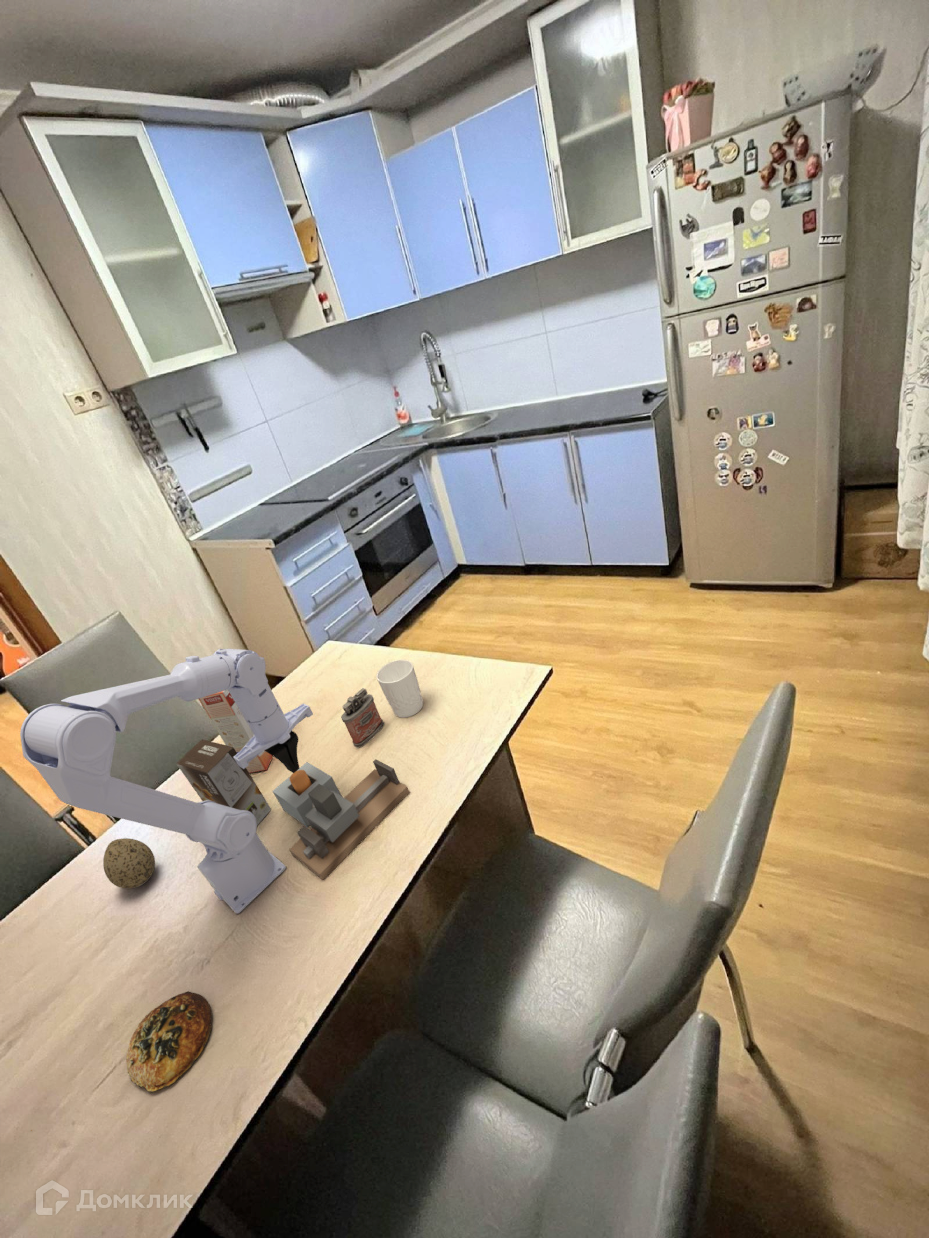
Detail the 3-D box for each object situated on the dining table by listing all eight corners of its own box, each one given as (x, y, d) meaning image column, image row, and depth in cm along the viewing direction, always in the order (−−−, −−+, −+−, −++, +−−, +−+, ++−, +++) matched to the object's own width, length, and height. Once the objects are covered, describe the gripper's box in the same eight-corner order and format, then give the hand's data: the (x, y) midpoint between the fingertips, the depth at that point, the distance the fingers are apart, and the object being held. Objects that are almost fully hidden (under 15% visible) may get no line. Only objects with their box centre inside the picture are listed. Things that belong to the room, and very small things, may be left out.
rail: (323, 880, 90) (311, 860, 88) (292, 855, 96) (280, 835, 94) (409, 792, 102) (401, 772, 99) (377, 774, 108) (368, 755, 105)
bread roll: (226, 988, 79) (206, 974, 76) (203, 1089, 70) (179, 1078, 67) (154, 1002, 80) (132, 990, 77) (122, 1103, 71) (96, 1094, 68)
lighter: (361, 749, 115) (344, 711, 110) (350, 744, 117) (332, 707, 112) (387, 723, 120) (372, 686, 115) (376, 719, 122) (361, 683, 117)
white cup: (385, 719, 121) (370, 683, 116) (399, 695, 128) (385, 659, 123) (418, 720, 118) (404, 682, 114) (431, 695, 125) (418, 658, 120)
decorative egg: (168, 876, 99) (138, 839, 94) (126, 906, 95) (93, 869, 91) (158, 854, 104) (128, 817, 99) (118, 882, 101) (85, 846, 96)
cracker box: (269, 770, 116) (223, 691, 106) (242, 775, 117) (193, 697, 107) (288, 724, 128) (248, 649, 118) (263, 729, 129) (222, 655, 119)
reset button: (305, 802, 102) (295, 785, 100) (296, 796, 104) (286, 778, 102) (318, 790, 104) (308, 773, 102) (309, 784, 106) (299, 767, 104)
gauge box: (307, 827, 100) (297, 808, 98) (283, 809, 106) (272, 791, 103) (342, 795, 105) (332, 777, 103) (316, 780, 110) (306, 761, 108)
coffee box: (273, 808, 107) (235, 746, 99) (248, 836, 102) (207, 773, 94) (240, 798, 111) (202, 738, 104) (216, 824, 107) (173, 763, 99)
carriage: (332, 842, 92) (316, 813, 89) (311, 827, 96) (295, 799, 93) (359, 815, 96) (345, 787, 92) (338, 802, 100) (323, 774, 96)
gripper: (235, 747, 88) (271, 806, 94) (309, 690, 96) (337, 749, 103) (214, 733, 92) (250, 790, 99) (287, 680, 101) (315, 737, 107)
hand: (293, 768), depth 101 cm, fingers closed
